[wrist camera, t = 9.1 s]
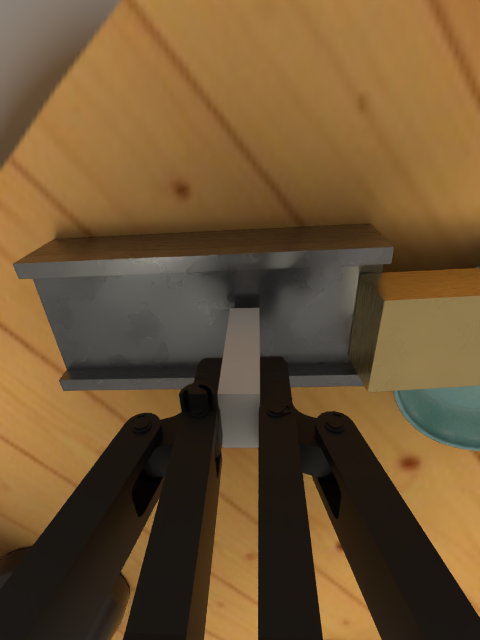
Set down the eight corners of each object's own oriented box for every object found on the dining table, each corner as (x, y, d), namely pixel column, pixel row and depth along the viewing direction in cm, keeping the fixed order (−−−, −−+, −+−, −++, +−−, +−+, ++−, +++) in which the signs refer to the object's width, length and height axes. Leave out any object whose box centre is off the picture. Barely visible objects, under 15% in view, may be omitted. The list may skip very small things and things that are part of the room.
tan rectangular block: (348, 356, 20) (367, 392, 18) (360, 273, 18) (384, 300, 15) (487, 348, 20) (526, 382, 18) (518, 265, 18) (569, 291, 15)
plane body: (90, 352, 25) (63, 390, 21) (54, 239, 21) (12, 263, 17) (356, 345, 23) (372, 385, 20) (370, 223, 20) (393, 247, 16)
